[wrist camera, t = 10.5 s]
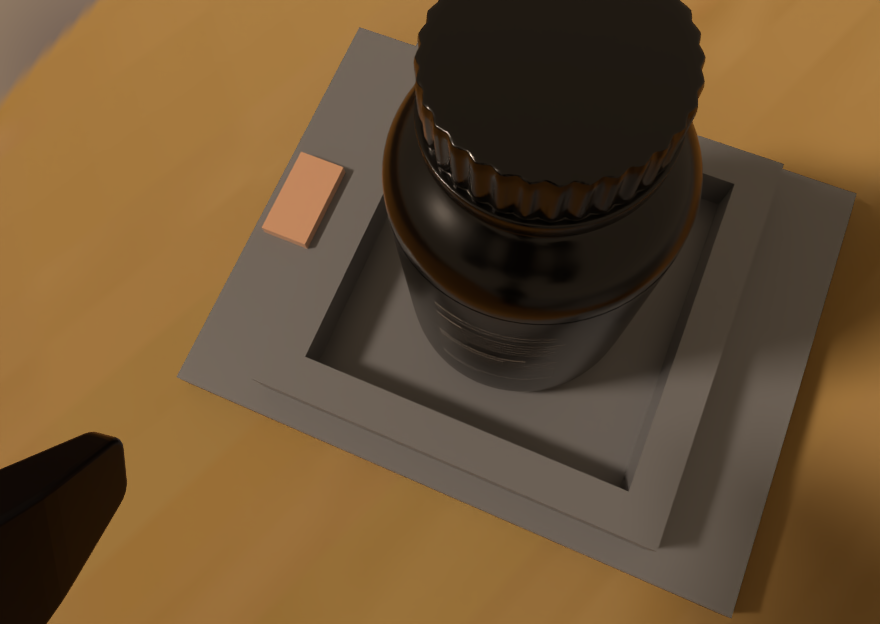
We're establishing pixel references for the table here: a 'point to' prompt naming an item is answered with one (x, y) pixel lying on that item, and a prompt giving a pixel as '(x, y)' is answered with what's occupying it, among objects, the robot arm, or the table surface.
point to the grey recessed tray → (550, 410)
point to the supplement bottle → (543, 178)
